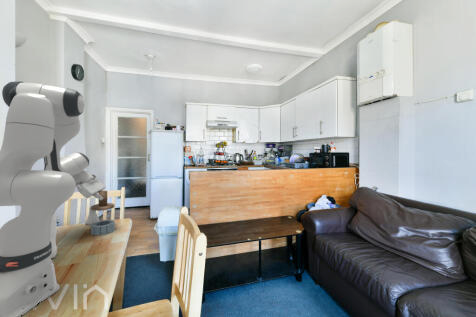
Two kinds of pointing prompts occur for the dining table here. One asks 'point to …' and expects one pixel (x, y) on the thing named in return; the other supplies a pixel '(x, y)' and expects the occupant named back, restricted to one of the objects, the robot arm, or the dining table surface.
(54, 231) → the water bottle
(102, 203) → the walnut lid
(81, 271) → the dining table surface
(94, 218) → the flask
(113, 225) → the slate-blue bowl
